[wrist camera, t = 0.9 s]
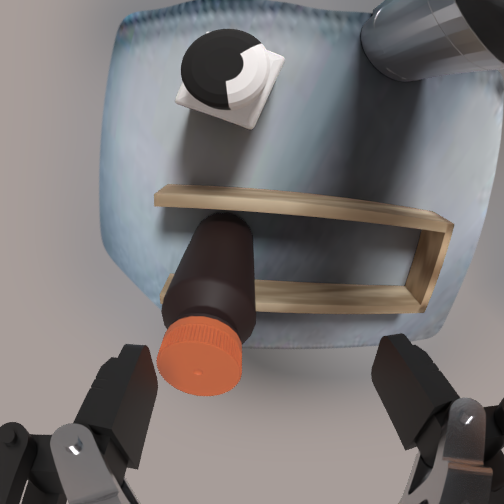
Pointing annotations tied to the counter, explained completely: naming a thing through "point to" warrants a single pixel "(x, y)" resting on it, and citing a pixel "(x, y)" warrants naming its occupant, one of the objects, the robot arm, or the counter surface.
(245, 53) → the medicine bottle
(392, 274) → the counter surface
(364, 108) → the counter surface
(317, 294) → the u rest
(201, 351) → the vinegar
